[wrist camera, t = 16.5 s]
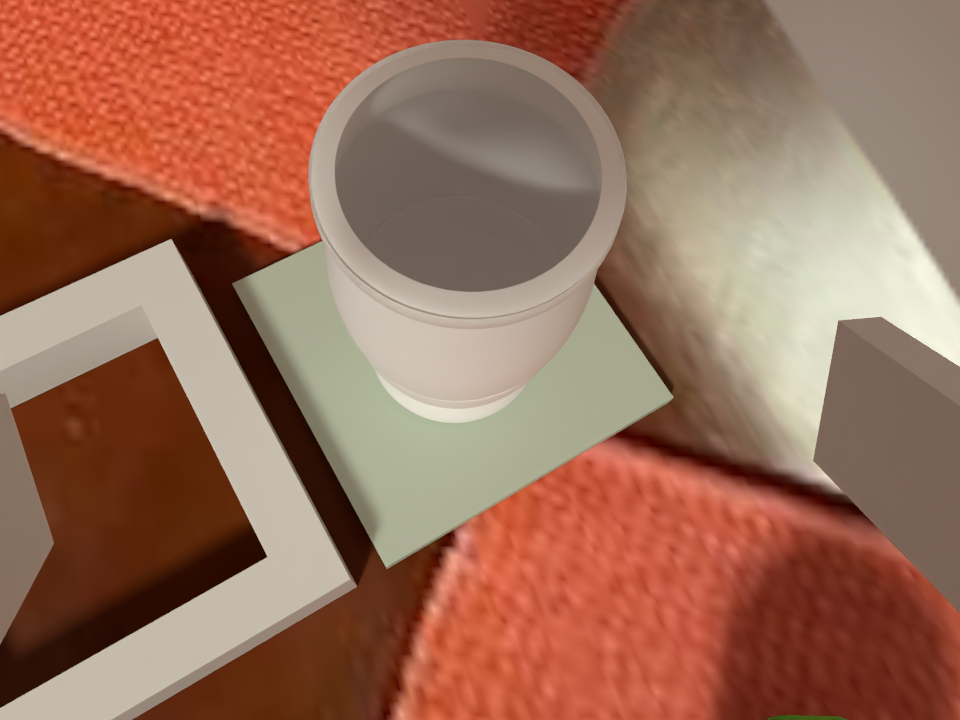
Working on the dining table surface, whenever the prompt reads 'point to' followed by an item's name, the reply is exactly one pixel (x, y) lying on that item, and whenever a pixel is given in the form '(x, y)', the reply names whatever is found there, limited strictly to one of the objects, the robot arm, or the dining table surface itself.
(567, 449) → the pad
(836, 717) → the snack cup
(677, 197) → the dining table surface
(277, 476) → the white square frame
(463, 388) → the jar
